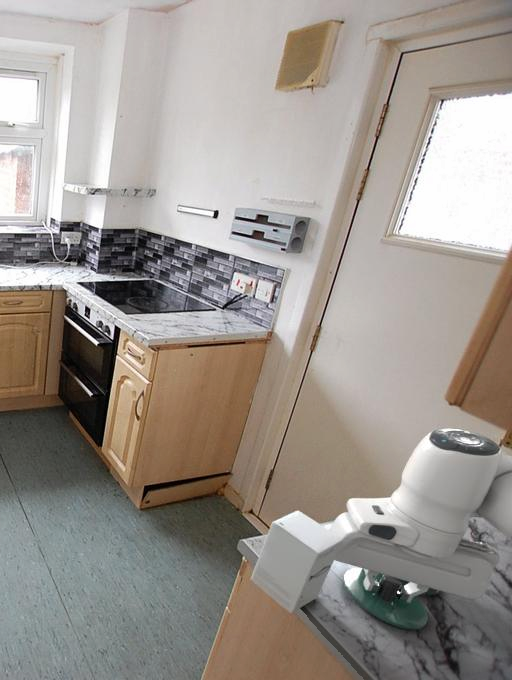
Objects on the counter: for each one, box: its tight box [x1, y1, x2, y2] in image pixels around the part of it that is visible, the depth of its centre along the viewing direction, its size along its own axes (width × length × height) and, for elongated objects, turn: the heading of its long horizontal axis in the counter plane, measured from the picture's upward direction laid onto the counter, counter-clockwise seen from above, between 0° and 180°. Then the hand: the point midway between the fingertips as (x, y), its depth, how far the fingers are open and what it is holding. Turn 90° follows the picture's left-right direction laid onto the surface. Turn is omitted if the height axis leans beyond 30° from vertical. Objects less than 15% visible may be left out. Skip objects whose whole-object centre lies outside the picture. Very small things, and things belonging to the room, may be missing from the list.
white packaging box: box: [250, 510, 343, 615], centre depth 74 cm, size 7×7×13 cm
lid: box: [342, 567, 429, 630], centre depth 75 cm, size 11×11×5 cm
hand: (385, 593), depth 75 cm, fingers open, 3 cm apart
